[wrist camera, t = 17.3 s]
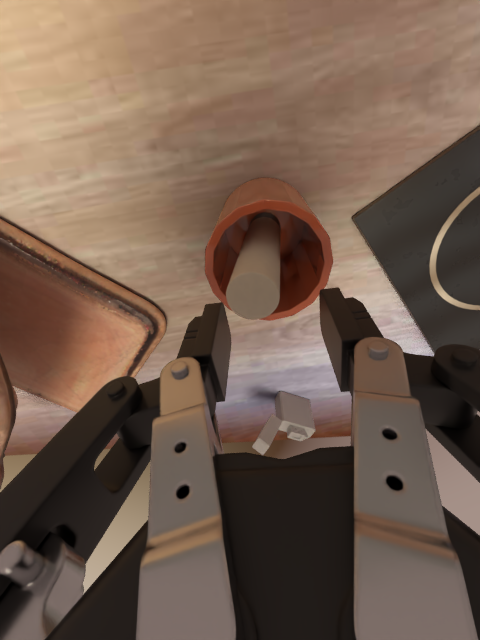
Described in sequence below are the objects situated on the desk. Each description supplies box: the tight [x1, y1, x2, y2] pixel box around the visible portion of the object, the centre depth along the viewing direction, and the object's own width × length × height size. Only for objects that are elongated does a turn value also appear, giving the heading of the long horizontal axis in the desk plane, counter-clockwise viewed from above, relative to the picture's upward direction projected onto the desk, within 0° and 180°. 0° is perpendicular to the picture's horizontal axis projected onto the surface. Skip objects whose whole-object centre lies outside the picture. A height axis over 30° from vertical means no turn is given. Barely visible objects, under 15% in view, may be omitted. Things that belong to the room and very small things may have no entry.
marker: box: [226, 212, 281, 320], centre depth 19 cm, size 3×3×12 cm
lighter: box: [253, 391, 316, 455], centre depth 32 cm, size 7×2×8 cm, turn 69°
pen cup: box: [205, 178, 333, 320], centre depth 21 cm, size 7×7×9 cm
